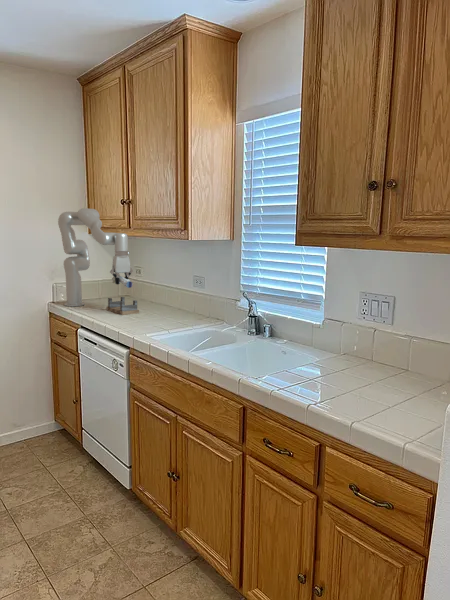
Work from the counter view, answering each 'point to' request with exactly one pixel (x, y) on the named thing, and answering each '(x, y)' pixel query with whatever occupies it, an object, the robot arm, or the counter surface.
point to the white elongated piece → (123, 281)
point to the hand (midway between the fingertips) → (121, 283)
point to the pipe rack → (122, 307)
